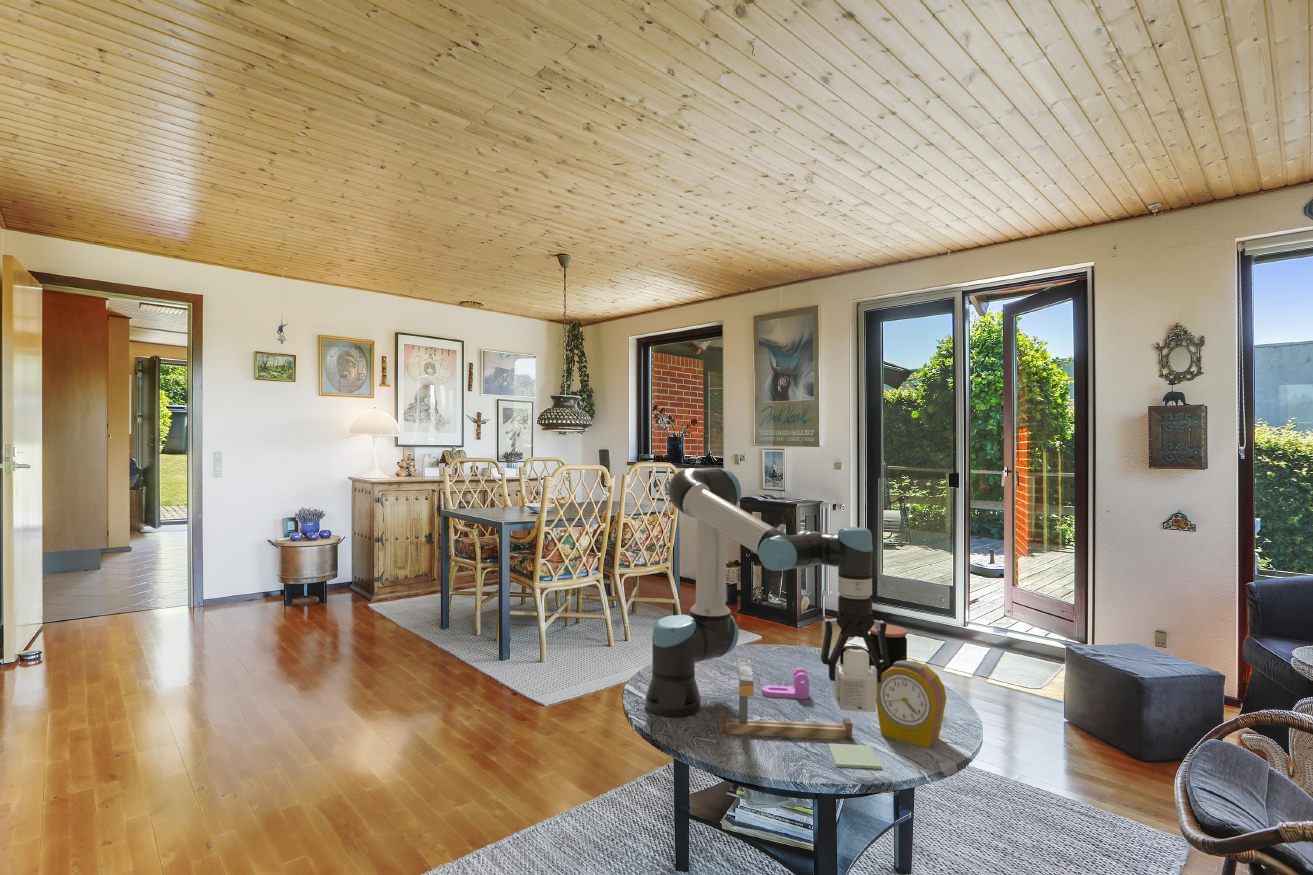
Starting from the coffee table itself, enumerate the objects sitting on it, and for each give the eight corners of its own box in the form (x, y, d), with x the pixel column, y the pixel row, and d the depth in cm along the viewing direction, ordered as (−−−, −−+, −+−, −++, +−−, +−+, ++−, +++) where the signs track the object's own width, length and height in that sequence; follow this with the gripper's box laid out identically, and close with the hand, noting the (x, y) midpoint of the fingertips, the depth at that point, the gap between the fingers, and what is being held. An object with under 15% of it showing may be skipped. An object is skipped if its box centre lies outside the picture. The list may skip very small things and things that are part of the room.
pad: (835, 766, 141) (836, 763, 141) (827, 745, 151) (827, 743, 151) (882, 768, 140) (882, 766, 140) (871, 748, 150) (871, 745, 150)
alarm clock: (873, 733, 159) (873, 658, 159) (885, 722, 165) (885, 651, 165) (935, 751, 149) (936, 672, 149) (946, 740, 155) (946, 664, 156)
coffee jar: (903, 700, 180) (904, 636, 181) (864, 692, 186) (865, 630, 186) (909, 688, 190) (909, 627, 190) (872, 681, 195) (872, 622, 195)
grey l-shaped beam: (739, 746, 144) (740, 680, 145) (736, 718, 160) (737, 658, 160) (752, 747, 144) (753, 681, 145) (749, 719, 159) (749, 659, 160)
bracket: (806, 691, 186) (806, 667, 186) (808, 699, 180) (809, 674, 181) (761, 689, 187) (761, 665, 188) (762, 696, 182) (762, 671, 182)
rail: (719, 733, 157) (719, 716, 158) (719, 727, 161) (719, 711, 161) (852, 739, 155) (852, 723, 155) (849, 734, 158) (849, 717, 158)
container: (834, 697, 150) (834, 642, 151) (868, 699, 149) (868, 643, 150) (840, 711, 143) (840, 652, 143) (876, 712, 142) (876, 653, 142)
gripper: (812, 597, 144) (811, 699, 143) (906, 600, 142) (906, 703, 141) (807, 590, 151) (806, 687, 151) (896, 593, 150) (896, 691, 149)
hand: (854, 695), depth 146 cm, fingers closed on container, 8 cm apart
